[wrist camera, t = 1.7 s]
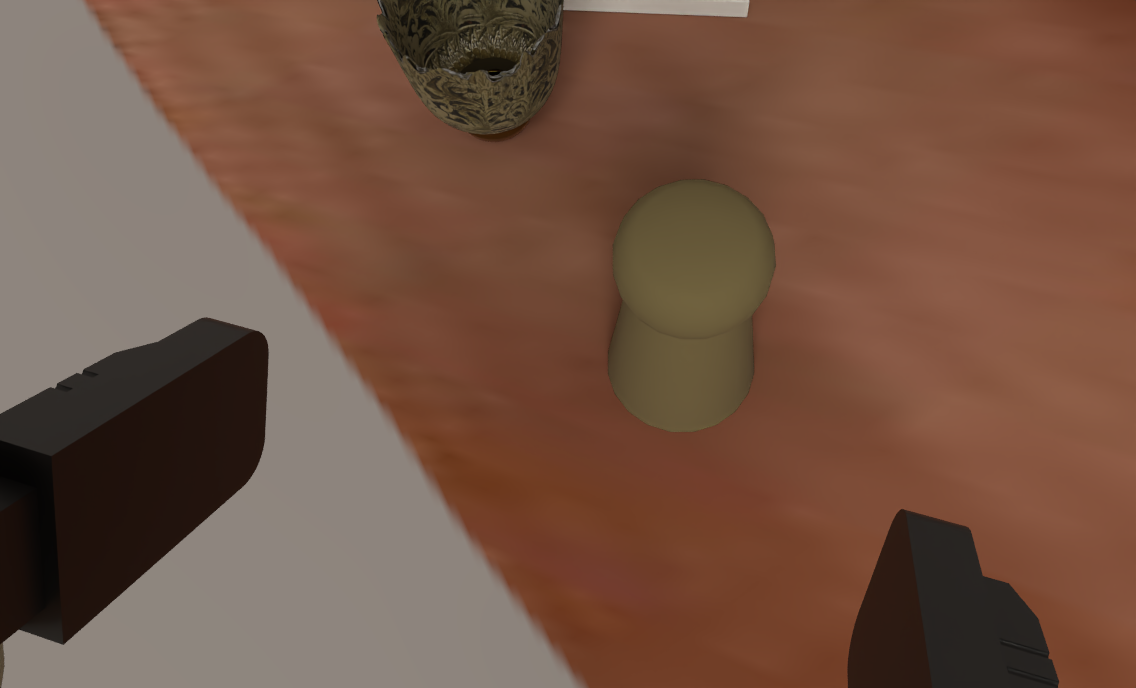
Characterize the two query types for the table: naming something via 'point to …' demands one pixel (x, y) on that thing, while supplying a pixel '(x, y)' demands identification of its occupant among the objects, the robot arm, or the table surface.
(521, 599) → the table surface
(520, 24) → the cup
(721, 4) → the socket board
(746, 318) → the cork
